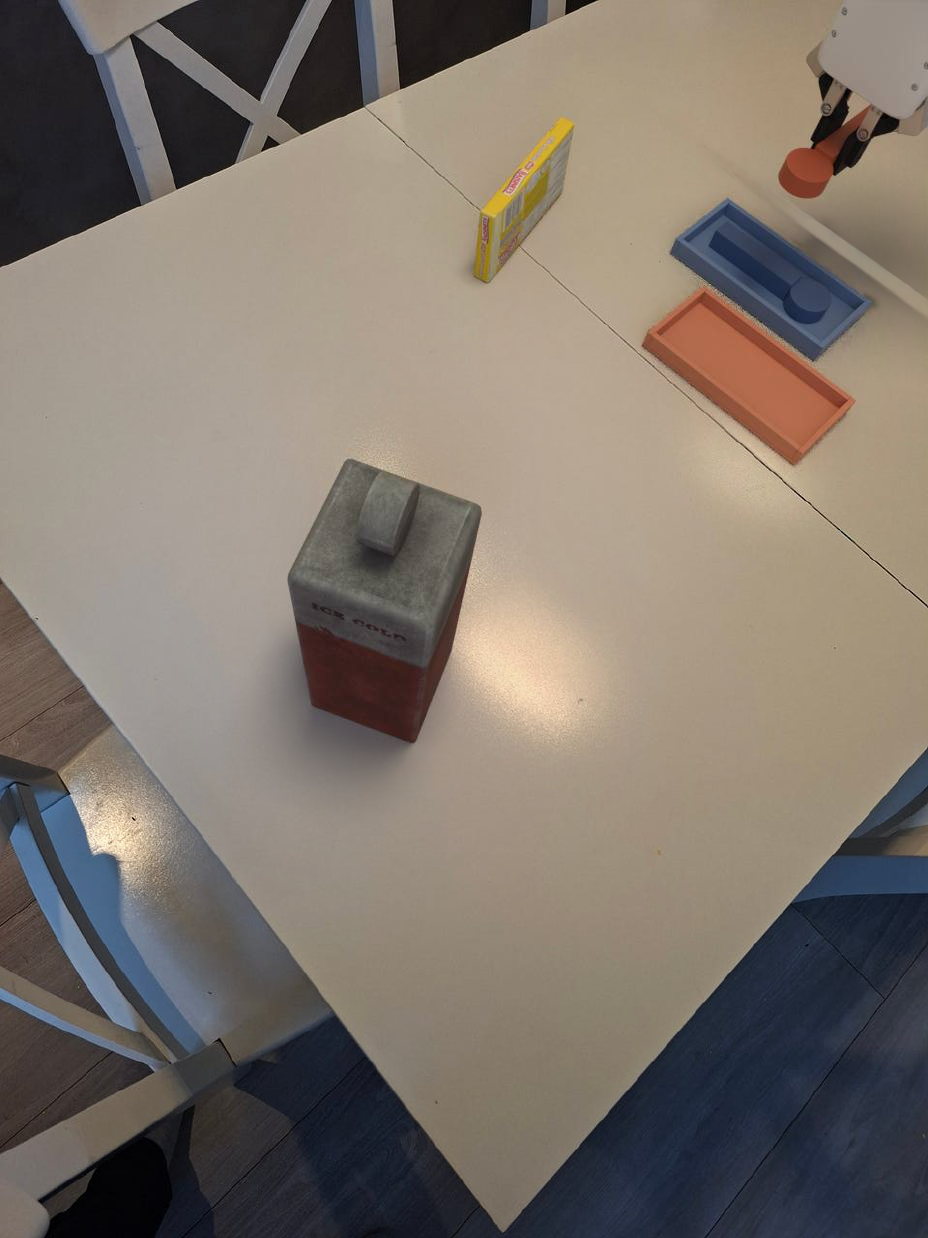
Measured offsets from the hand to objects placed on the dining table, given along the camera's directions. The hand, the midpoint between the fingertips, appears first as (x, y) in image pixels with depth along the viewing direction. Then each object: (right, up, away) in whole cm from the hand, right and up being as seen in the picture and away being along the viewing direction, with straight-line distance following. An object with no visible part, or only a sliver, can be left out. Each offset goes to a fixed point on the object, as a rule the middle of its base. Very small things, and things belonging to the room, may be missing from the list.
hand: (829, 158), depth 83 cm
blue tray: (-2, -8, +11) cm, 13 cm away
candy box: (-29, -2, +11) cm, 31 cm away
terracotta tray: (-6, -19, +5) cm, 21 cm away
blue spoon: (-2, -7, +10) cm, 13 cm away
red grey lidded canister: (-42, -47, -11) cm, 64 cm away
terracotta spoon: (0, 0, 0) cm, 0 cm away
